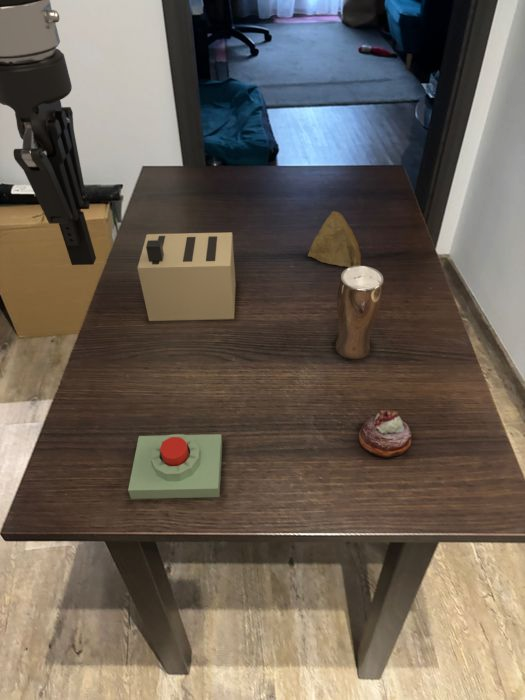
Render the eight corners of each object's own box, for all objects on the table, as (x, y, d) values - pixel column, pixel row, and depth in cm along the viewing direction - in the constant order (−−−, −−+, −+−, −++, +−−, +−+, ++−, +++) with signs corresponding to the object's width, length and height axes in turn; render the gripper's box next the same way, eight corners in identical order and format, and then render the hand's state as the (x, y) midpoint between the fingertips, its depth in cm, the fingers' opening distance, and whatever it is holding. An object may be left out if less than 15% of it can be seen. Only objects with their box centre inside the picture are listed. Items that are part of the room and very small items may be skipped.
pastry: (393, 413, 81) (399, 391, 78) (422, 450, 76) (429, 428, 73) (348, 429, 79) (351, 407, 76) (374, 468, 74) (379, 447, 71)
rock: (376, 255, 109) (351, 228, 114) (361, 235, 102) (335, 206, 108) (336, 290, 111) (313, 261, 117) (319, 272, 104) (295, 242, 110)
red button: (160, 466, 71) (158, 458, 70) (163, 444, 73) (161, 436, 72) (187, 465, 71) (185, 458, 70) (189, 444, 73) (188, 436, 72)
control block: (131, 499, 71) (125, 482, 69) (141, 445, 78) (136, 428, 75) (219, 497, 71) (217, 480, 68) (222, 443, 78) (220, 426, 75)
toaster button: (148, 261, 91) (145, 246, 89) (150, 255, 93) (147, 240, 91) (162, 261, 91) (160, 246, 89) (164, 254, 93) (161, 240, 91)
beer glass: (329, 358, 90) (336, 287, 80) (335, 331, 95) (342, 262, 85) (370, 364, 89) (383, 293, 79) (374, 337, 94) (386, 267, 84)
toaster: (148, 321, 99) (137, 267, 90) (156, 286, 107) (146, 233, 98) (234, 319, 98) (230, 265, 90) (235, 284, 107) (232, 231, 98)
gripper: (40, 72, 45) (102, 292, 61) (77, 34, 55) (123, 233, 71) (-47, 74, 45) (38, 293, 61) (6, 36, 55) (67, 234, 71)
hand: (84, 261), depth 66 cm, fingers closed
